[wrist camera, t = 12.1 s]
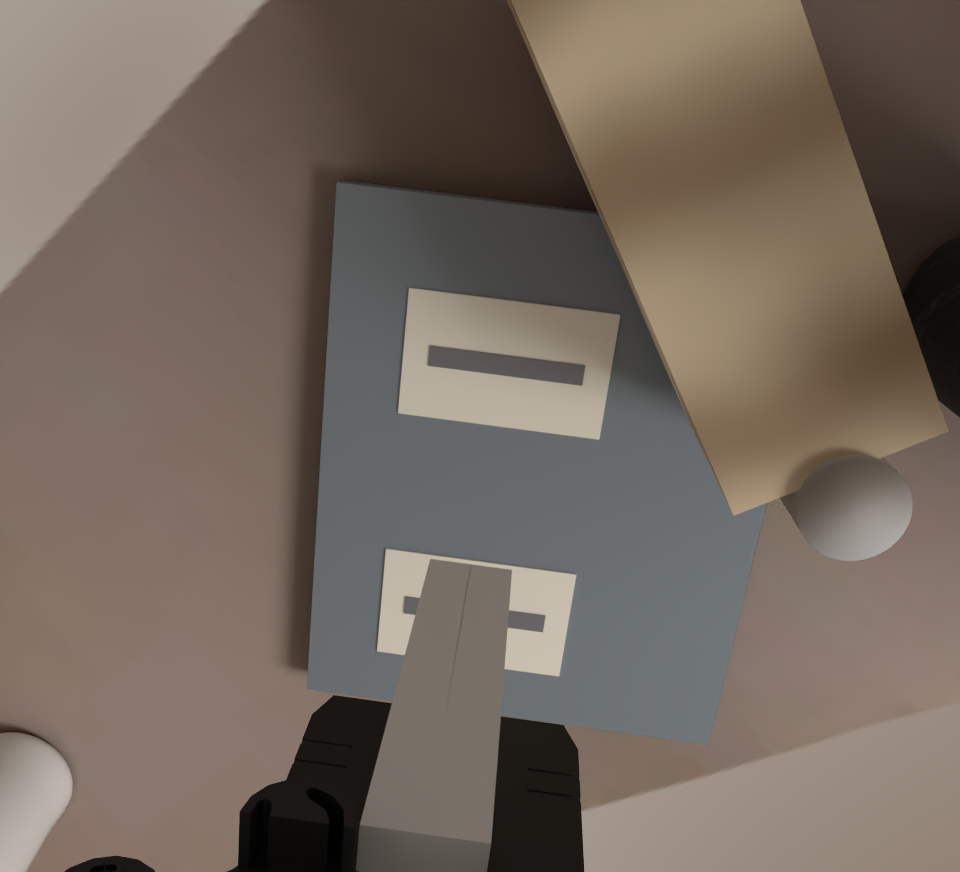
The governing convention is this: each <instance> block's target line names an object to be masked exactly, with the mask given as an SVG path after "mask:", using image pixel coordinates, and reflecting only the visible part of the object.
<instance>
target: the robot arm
mask: <svg viewBox="0 0 960 872" xmlns="http://www.w3.org/2000/svg"><path fill="white" fill-rule="evenodd" d="M511 577H512V570H509V569H502V568H495V567H487V566H480V565H472V564H465V563H458V562H450V561H443V560H436V559H430V562H429V565H428V569H427V573H426V577H425V581H424V584H423V588H422V592H421V596H420V599H419V603H418V607H417V611H416V614H415V618H414V622H413V626H412V630H411V633H410V637H409V641H408V645H407V648H406V652H405V656H404V660H403V664H402V667H401V671H400V675H399V679H398V682H397V686H396V690H395V694H394V697H393V701H392V703H385V702H378V701H371V700H364V699H357V698H350V697H342V696H335V695H334V696H333V697H331V698H330V699H329V700H328V701H327V702H326V703H325V704H323V705H322V706H321V707H320V708H319V709H318V710H317V711H316V712H314V713H313V714H312V716H311V719H310V721H309V724H308V726H307V729H306V731H305V734H304V736H303V740H302V744H300V747H299V749H298V752H297V754H296V757H295V761H294V764H292V767H291V769H290V772H289V774H288V777H287V780H285V781H282V782H278V783H275V784H271V785H268V786H266V787H265V788H263V789H262V790H260V791H259V792H257V793H255V794H254V795H252V796H251V797H250V798H249V800H248V801H247V802H246V804H245V805H244V807H243V808H242V809H241V811H240V823H239V856H238V866H237V867H235V868H234V869H232V870H230V871H228V872H584V858H583V839H582V820H581V819H582V818H581V802H580V780H579V759H578V749H577V747H576V745H575V744H574V742H573V740H572V739H571V737H570V735H569V734H568V732H567V730H566V729H565V727H564V726H563V725H559V724H552V723H544V722H537V721H530V720H523V719H516V718H509V717H502V716H501V708H502V695H503V682H504V668H505V655H506V642H507V629H508V616H509V603H510V590H511ZM65 872H155V871H154V869H152V868H150V867H149V866H147V865H146V864H144V863H143V862H141V861H139V860H137V859H132V858H126V857H121V856H111V857H102V858H94V859H91V860H88V861H86V862H83V863H81V864H78V865H76V866H73V867H71V868H69V869H67V870H66V871H65Z"/></svg>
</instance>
